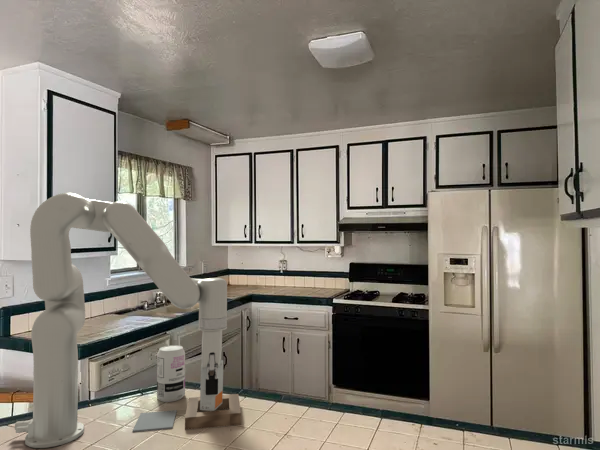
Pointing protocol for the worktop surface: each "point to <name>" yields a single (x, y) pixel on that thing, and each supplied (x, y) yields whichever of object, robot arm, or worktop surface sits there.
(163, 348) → the supplement can
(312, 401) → the worktop surface
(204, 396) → the skincare box
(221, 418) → the holder block
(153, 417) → the rubber mat
